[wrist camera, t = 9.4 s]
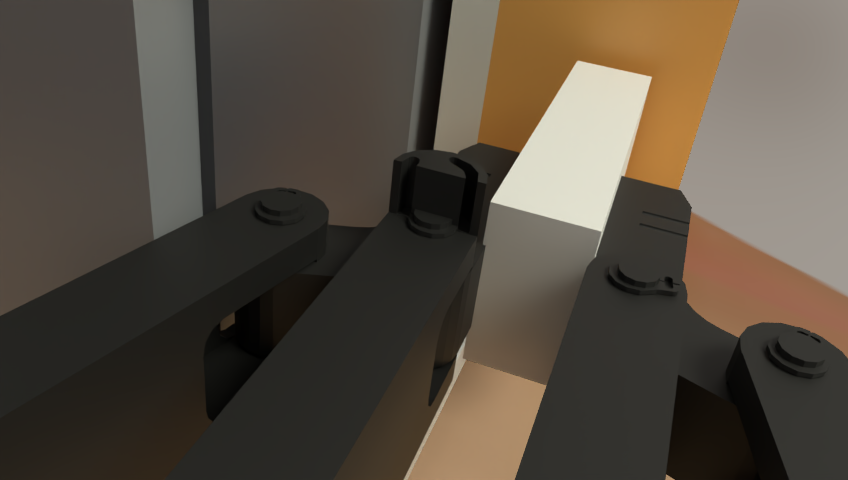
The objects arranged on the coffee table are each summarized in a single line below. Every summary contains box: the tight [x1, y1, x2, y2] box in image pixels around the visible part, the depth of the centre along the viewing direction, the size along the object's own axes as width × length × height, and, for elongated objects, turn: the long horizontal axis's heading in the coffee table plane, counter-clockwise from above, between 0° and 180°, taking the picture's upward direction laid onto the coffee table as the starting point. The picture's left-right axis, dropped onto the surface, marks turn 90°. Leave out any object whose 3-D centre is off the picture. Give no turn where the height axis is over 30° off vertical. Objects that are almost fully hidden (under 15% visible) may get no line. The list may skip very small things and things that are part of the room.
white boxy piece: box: [434, 0, 739, 190], centre depth 22 cm, size 6×12×13 cm, turn 160°
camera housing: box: [0, 0, 466, 480], centre depth 19 cm, size 14×20×19 cm
